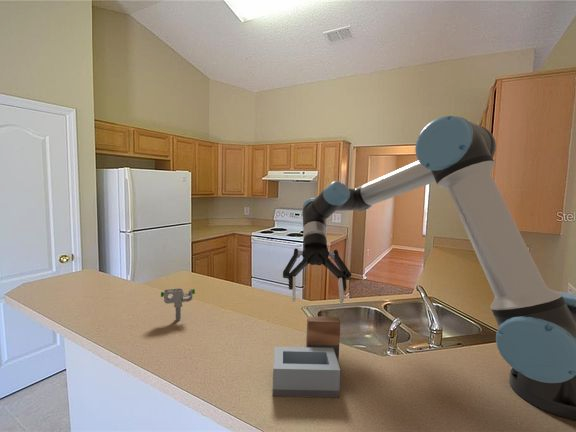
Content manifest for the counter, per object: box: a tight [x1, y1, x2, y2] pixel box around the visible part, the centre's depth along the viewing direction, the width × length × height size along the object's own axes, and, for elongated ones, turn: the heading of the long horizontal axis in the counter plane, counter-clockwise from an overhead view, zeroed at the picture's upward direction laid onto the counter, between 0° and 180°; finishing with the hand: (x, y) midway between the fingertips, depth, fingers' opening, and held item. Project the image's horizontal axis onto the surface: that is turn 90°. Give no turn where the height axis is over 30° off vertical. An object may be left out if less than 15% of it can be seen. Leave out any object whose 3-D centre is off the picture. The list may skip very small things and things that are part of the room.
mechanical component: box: [160, 287, 196, 322], centre depth 98 cm, size 3×10×10 cm, turn 112°
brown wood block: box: [305, 315, 341, 364], centre depth 77 cm, size 3×8×11 cm, turn 91°
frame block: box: [272, 346, 341, 398], centre depth 68 cm, size 9×14×6 cm, turn 91°
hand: (318, 300), depth 85 cm, fingers open, 13 cm apart
